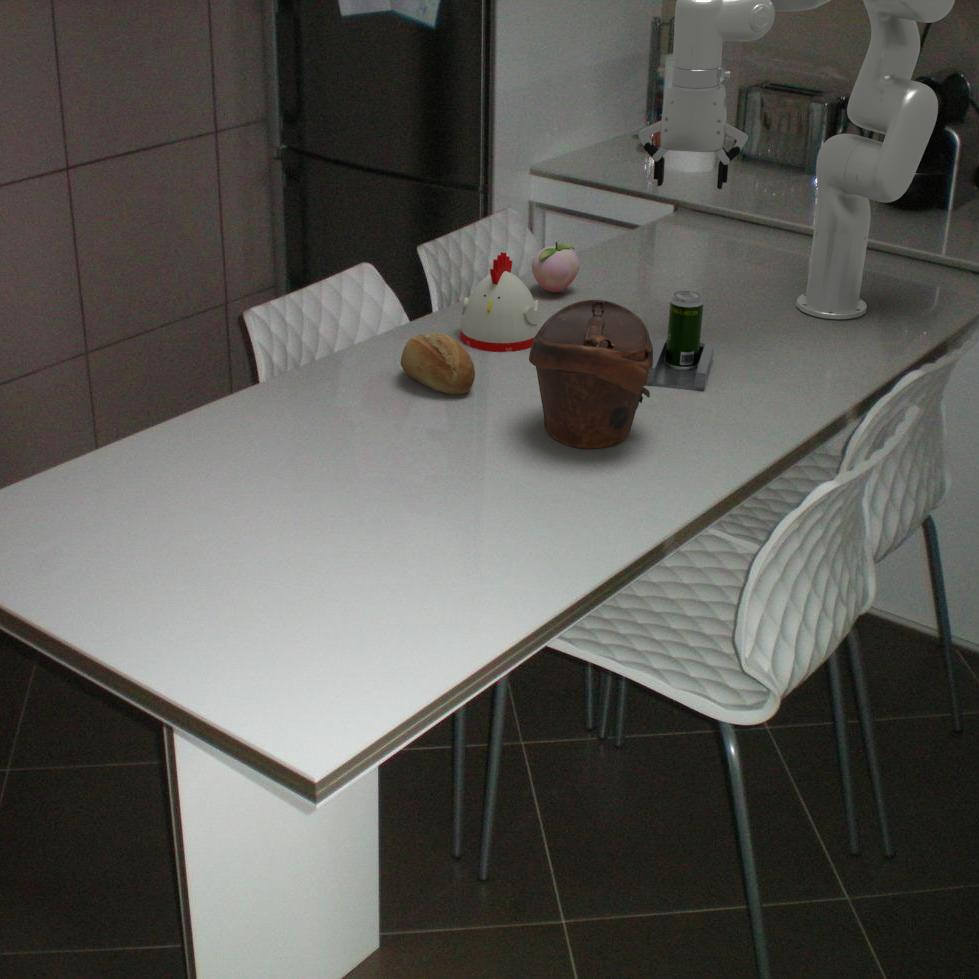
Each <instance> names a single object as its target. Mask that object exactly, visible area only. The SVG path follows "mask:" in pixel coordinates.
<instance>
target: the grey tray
mask: <svg viewBox="0 0 979 979" xmlns="http://www.w3.org/2000/svg"><path fill="white" fill-rule="evenodd" d="M666 348H667V339H663V338H657V339H656V341H655V344H654V345H653V366H652V368H651V369H650V368H649V373H648V378H647V384H646V386H652V387H653V386H654V387H655V386H656V387H664V388H670V389H671V388H672V389H681V390H688V391H689V390H692V391H700V392H705V388H706V385H707V381H708V378H709V376H710V375H709V374H710V372H711V368H712V364H713V361H714V349H715V344H714V343H713V344H712V343H702V342H700V348H699V359H698V364H697V366H696V367H695V368H694V369H692V370H675V369H672V368H670V367H668V365H667V363H666Z"/></svg>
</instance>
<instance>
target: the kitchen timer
mask: <svg viewBox="0 0 979 979" xmlns="http://www.w3.org/2000/svg"><path fill="white" fill-rule="evenodd" d="M492 261H493V262H492V264H493V265H492V267H493V268H489V271H490V272H489V273H490V274H487V275H486V276H485V277H484V278H482V279H481V280H480V282H479V283H477V284H476V286H475V288H473V290H472V292H471V294H470V296H469V297H466V296H465V297H464V299H463V304H462V310H461V314H462V317H461V323H460V340H461V341H462V342H463V344H465V345H467V346H468V347H470V348H472V349H476V350H480V351H485V352H491V353H494V352H495V353H512V352H518V351H525V350H528V349H531V346H532V343H533V339H534V337H535V336H536V334H537V333H538V331H539V330H540V329H541V327H542V325H541V321H540V305H539V300H535V299H534V298H533V295H532V293H531V291H530V289H529V288H528V287H527V285H526V284H525V283H524V282H523V281H522V280H521V279H520V278H519V277H518V276H516V275H515V274H514V273H512V269H513V268H512V267H513V260H511V258H510V256H508V255H507V253H506V252H500V254H497V258H496V259H493V260H492Z"/></svg>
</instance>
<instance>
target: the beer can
mask: <svg viewBox="0 0 979 979" xmlns="http://www.w3.org/2000/svg"><path fill="white" fill-rule="evenodd" d="M703 298H704V297H703V294H701V293H699V292H697V291H692V290H678V291H674V292H673V293H672V294H671V298H670V302H669V311H668V312H669V313H668V324H667V336H666V337H667V338H666V340H667V348H666V363H667V365H668V367H670V368H672V369H675V370H692V369H694V368H695V367H696V366H697V364H698V359H699V348H700V343H701V334H702V324H703V314H704V312H703V311H704V300H703Z"/></svg>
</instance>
